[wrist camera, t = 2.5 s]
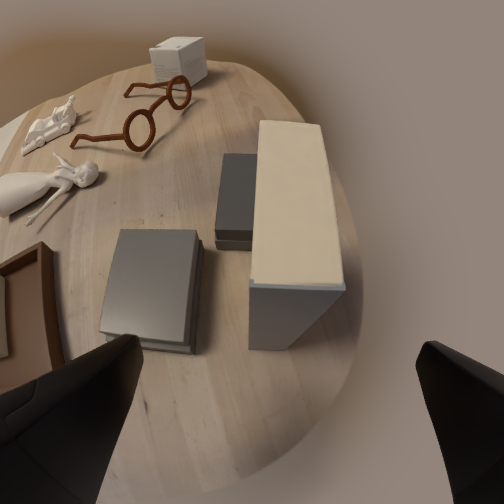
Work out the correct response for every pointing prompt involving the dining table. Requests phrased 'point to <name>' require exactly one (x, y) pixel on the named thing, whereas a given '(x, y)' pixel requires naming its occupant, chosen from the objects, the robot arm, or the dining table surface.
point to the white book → (292, 236)
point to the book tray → (30, 318)
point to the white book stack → (2, 320)
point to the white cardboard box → (179, 60)
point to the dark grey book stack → (236, 202)
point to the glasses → (148, 113)
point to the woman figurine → (42, 186)
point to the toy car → (50, 127)
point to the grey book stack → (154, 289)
